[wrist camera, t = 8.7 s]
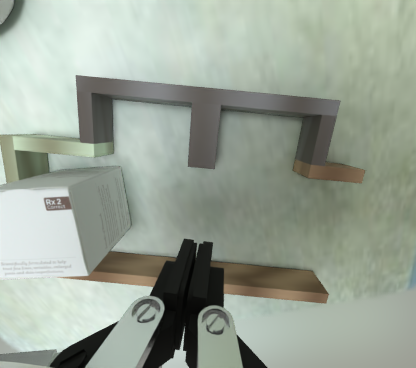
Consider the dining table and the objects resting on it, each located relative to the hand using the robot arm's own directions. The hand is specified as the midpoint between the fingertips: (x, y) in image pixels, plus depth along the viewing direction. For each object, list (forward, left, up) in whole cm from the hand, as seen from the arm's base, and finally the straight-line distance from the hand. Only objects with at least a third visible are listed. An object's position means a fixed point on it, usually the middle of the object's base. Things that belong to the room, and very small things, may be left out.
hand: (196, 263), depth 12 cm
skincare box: (+10, 0, -8) cm, 13 cm away
